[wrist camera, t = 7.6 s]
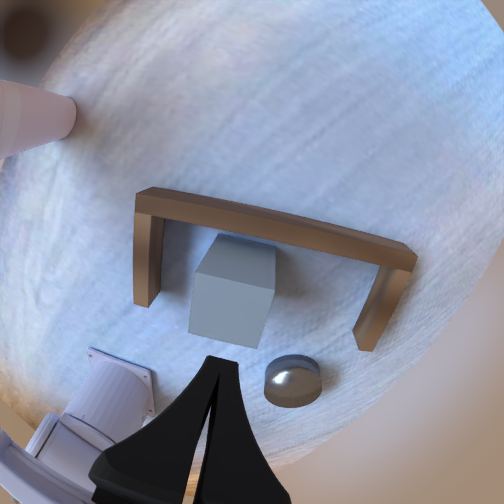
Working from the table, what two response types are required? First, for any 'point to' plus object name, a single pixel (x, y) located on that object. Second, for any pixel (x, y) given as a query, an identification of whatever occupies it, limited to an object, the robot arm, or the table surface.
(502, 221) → the table surface
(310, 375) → the grey puck
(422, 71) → the table surface
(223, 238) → the grey block
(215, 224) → the walnut bay
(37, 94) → the smoothie
